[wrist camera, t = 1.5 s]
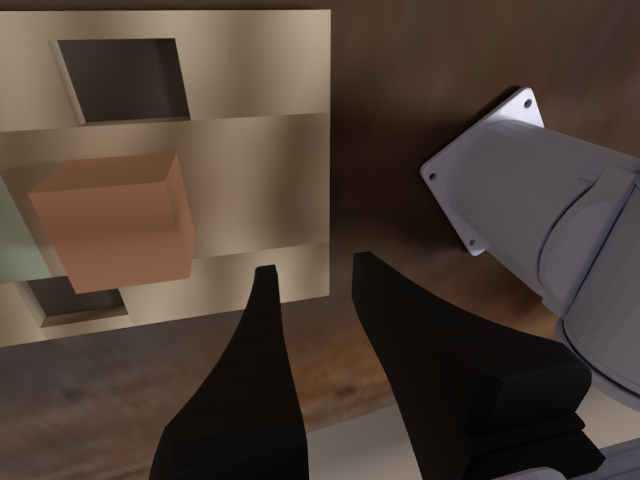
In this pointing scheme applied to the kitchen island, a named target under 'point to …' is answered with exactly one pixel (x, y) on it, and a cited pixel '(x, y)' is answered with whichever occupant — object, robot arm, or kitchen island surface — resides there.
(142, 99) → the box
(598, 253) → the robot arm
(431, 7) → the kitchen island surface
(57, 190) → the rust block
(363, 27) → the kitchen island surface
